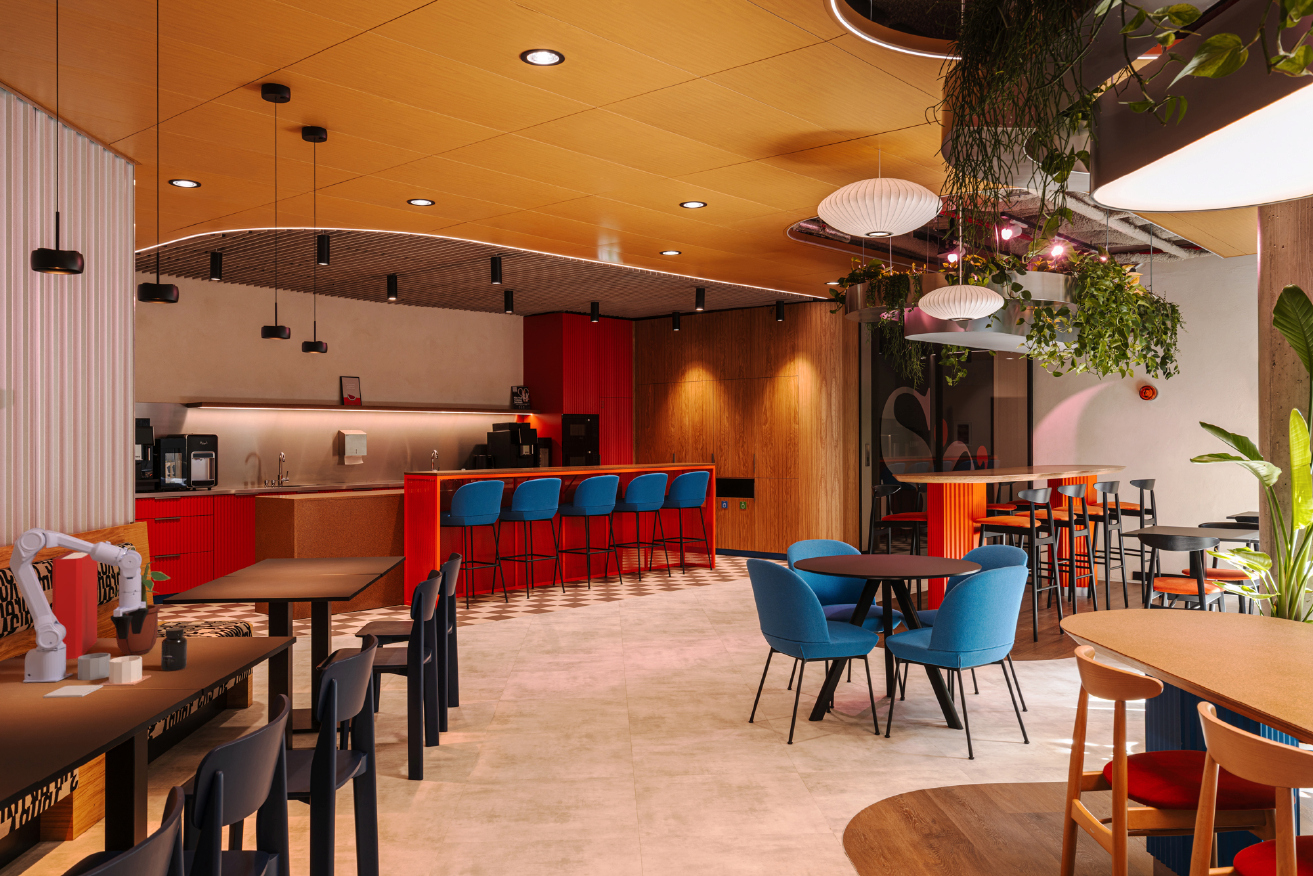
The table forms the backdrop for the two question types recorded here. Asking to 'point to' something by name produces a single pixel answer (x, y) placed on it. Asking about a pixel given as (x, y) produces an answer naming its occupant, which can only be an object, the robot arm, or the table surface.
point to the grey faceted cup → (93, 666)
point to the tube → (125, 671)
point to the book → (75, 600)
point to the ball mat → (73, 691)
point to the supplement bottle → (174, 650)
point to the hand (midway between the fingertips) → (129, 636)
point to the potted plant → (148, 635)
